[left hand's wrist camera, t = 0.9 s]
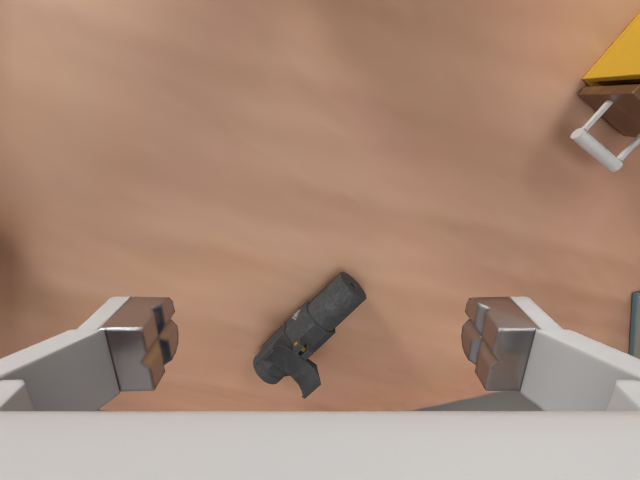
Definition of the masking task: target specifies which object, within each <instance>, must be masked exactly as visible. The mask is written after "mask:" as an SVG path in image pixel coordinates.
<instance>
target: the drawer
mask: <svg viewBox="0 0 640 480" xmlns="http://www.w3.org/2000/svg"><path fill="white" fill-rule="evenodd" d="M600 83H601V84H602V85H603V86H595V87H584V88H583V90H582V91H581V92H580V93H579V94H578V95H579V96H580V97H581V98H582V99H583V100H584V101H586V102H587V103H588V104H589V105H590V106H591V107H592V108H593V109H595V110H596V111H597V112H596V113H595V114H594V115H593V116H592V117H591V118H590V119H589V120H588V122H587V123H586V124H585V125H584V126H583V127H582V128H578V129H576V130H575V131H574V132H573V133H572V134H571V136H570V138H571V139H572V140H573V141H575V142H576V143H577V144H578V145H579V146H580V147H582V148H583V149H584V150H585V151H586V152H587V153H589V154H590V155H591V156H592V157H593V158H594V159H596V160H597V161H598V162H599V163H600V164H601V165H603V166H604V167H605V168H606V169H607V170H609V171H610V172H615V171H617V170H619V169H620V168H621V167H622V165H623V163H622V162H621V161H622V160H623V159H624V158H625V157H626V156H627V155H628V154H629V153H630V152H631V151H632V150H633V149H634V148H635V147H636V146H637V145H638V144H639V143H640V79H629V80H615V81H600ZM601 116H602V117H603V118H605V119H606V120H607V121H608V122H609V123H610V124H611V125H612V126H614V127H615V128H616V129H617V130H618V131H619V132H620V133H621V134H623V135H624V136H629V137H636V138H635V139H634V140H633V141H632V142H631V143H630V144H629V145H628V146H627V147H626V148H625V149H624V150H623V151H622V152H621V153H620V154H619V155H618V156H617V157H616V156H614V155H613V154H612V153H611V152H610V151H609V150H608V149H606V148H605V147H604V146H603V145H602V144H601V143H599V142H598V141H597V140H596V139H595V138H594V137H593V136H591V135H590V134H589V133H588V132H587V131H588V130H589V129H590V128H591V127H592V126H593V124H594V123H595V122H596V121H597V120H598V119H599V118H600V117H601Z"/></svg>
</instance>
